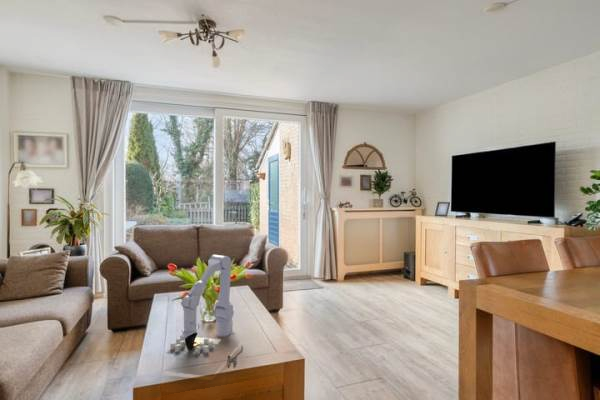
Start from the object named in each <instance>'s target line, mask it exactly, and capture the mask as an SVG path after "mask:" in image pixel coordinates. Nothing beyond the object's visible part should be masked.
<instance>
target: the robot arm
mask: <svg viewBox="0 0 600 400" xmlns="http://www.w3.org/2000/svg"><path fill="white" fill-rule="evenodd" d="M207 263H208V265H207V266H206V268H205V270H204V272H203V273H202V276H201V278H200V279H199V280H197V281H195V282H194V284H193V285H192V287H191V289H190V290H189V292H188V293H187V294H186V295H185V296H183V298H182V299H181V302H180V305H181V306H182V309H183V310H182V311H183V328H182V329H181V332H182V333H181V335H179V338H180V340H182V341H184V340H185V343H186V346H187V349H188V350H192V349H193V345H194V341H195V338H196V337H198V332H197V331H198V329H200V323H197V308H198V306H199V305H200V301H201V297H202V295H203V294H204V292H205V290H206V289H207V283H208V281H209V280H210V279H211V277H212V276H213V274H214V273H215V272H218V271H219V273H220V275H219V276H220V277H219V294H218V301H217V302H216V303H214V309H213V316H214V317H215V320H216V336H218V337H228V336H230V335H231V334H234V332H235V331H234V330H233V322H234V321H233V317H234V313H235V311H234V304H232V302H231V301H230V294H231V293H230V292H231V277H232V258H231V257H230V256H228V255H222V254H221V255H220V254H212V255H210V258H209V259H208V260H207Z"/></svg>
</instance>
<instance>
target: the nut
mask: <svg viewBox="0 0 600 400" xmlns="http://www.w3.org/2000/svg"><path fill="white" fill-rule="evenodd" d="M196 346H199V341H194V345H193V349H192V350H195V347H196Z"/></svg>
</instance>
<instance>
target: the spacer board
mask: <svg viewBox="0 0 600 400" xmlns="http://www.w3.org/2000/svg"><path fill="white" fill-rule="evenodd" d="M195 341H199V346H196V347H195V350H188V349H187V346H186V343H185V340H184V341H182V340H180V337H177V338H176V339H175V342H174V341H172V342H170V344H169V345H170V346H169V347H170V348H169V349H168V351H166V354H175V355H185V356H192V357H203V358H204V357H205V358H206V357H207V356H208V355H209V354H210V353H211V352H212V351H213V350H214V349H215V347H216V346H217V345H218V344H219V343H220V342H221V341H222V339H220V338H210V337H198V336H196V338H195Z"/></svg>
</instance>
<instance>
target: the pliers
mask: <svg viewBox="0 0 600 400" xmlns="http://www.w3.org/2000/svg"><path fill="white" fill-rule="evenodd" d="M240 347H241V350H240V351H239V352H238V353H236V354H235V355H234V356H233V357H231V355H228V356H227V358H228V359H227V362H226V366H227V368H230V365H231V363H232V364H233V367H234V368H235V367H236V365H237V357H238V356H239V355H240V354H241V353H242V352H243V350H244V348H243V347H244V346H243V345H240Z"/></svg>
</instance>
